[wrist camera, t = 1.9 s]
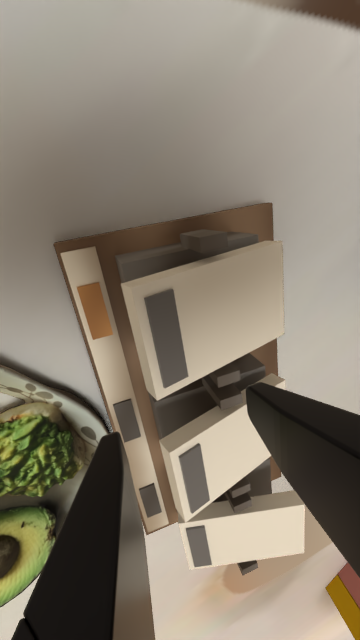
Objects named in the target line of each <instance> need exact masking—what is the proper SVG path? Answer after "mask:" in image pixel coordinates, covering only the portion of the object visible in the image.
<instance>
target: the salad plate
mask: <svg viewBox="0 0 360 640" xmlns="http://www.w3.org/2000/svg"><path fill="white" fill-rule="evenodd" d="M0 392H1V393H4V394H8V395H11V396H13V397H16V398H19V399H22V400H24V401H25V403H24V404H23V405H21V406H18V407H15V408H10V409H8V410H6V411H5V412H3V413H1V414H0V607H2V606H4V605H5V604H6V603H8V602H9V601H11V600H12V599H14V598H15V597H16V596H18V595H19V594H20V593H22V592H23V591H24V590H25V589H26V588H27V587H28V586H29V585H30V584H31V583H32V582H33V581H34V580H35V579H36V578H37V577H38V576H39V575H40V573H41V572H42V570H43V568H44V565H45V563H46V561H47V558H48V556H49V554H50V552H51V549H52V547H53V545H54V543H55V540H56V538H57V536H58V534H59V531H60V529H61V527H62V525H63V522H64V520H65V518H66V516H67V513H68V511H69V509H70V507H71V504H72V502H73V500H74V498H75V495H76V493H77V491H78V488H79V486H80V484H81V482H82V479H83V477H84V475H85V473H86V470H87V468H88V466H89V464H90V461H91V459H92V457H93V455H94V452H95V450H96V448H97V446H98V443H99V441H100V439H101V437H102V436H104V435H107V434H110V432H109V430H108V428H107V426H106V424H105V423H104V421H103V420H102V418H101V417H100V416H99V415H98V414H97V413H96V412H95V411H94V410H93V409H92V408H91V407H90V406H89V405H87V404H86V403H85V402H83V401H82V400H81V399H79V398H78V397H76V396H75V395H73V394H71V393H69V392H67V391H64V390H60V389H55V388H51V387H48V386H46V385H44V384H42V383H39V382H37V381H35V380H32V379H30V378H29V377H27V376H25V375H23V374H20V373H18V372H17V371H15V370H13V369H11V368H8V367H5V366H3V365H0Z"/></svg>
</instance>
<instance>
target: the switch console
mask: <svg viewBox="0 0 360 640" xmlns="http://www.w3.org/2000/svg"><path fill="white" fill-rule="evenodd" d="M263 241H274V240H273V209H272V203H262V204H257V205H252V206H246V207H241V208H236V209H230V210H225V211H220V212H214V213H209V214H204V215H199V216H193V217H188V218H183V219H177V220H172V221H167V222H161V223H156V224H151V225H145V226H140V227H135V228H130V229H124V230H119V231H114V232H108V233H103V234H98V235H92V236H87V237H82V238H76V239H71V240H66V241H61V242H55V243H54V247H55V250H56V254H57V257H58V260H59V263H60V266H61V269H62V272H63V275H64V279H65V282H66V285H67V288H68V291H69V294H70V297H71V300H72V304H73V307H74V310H75V313H76V316H77V319H78V322H79V325H80V329H81V332H82V335H83V338H84V341H85V344H86V347H87V350H88V354H89V357H90V360H91V363H92V366H93V369H94V372H95V375H96V379H97V382H98V385H99V388H100V391H101V394H102V397H103V400H104V404H105V407H106V410H107V413H108V416H109V419H110V422H111V425H112V429H113V432H116V431H118V432H119V433H120V435H121V438H122V441H123V444H124V448H125V451H126V454H127V457H128V461H129V465H130V470H131V474H132V479H133V484H134V488H135V493H136V497H137V502H138V506H139V511H140V516H141V519H142V522H143V526H144V529H145V532H146V535H148V534H151V533H153V532H155V531H157V530H160V529H162V528H164V527H167V526H169V525H171V524H174V523H176V522H178V511H177V509H176V508H175V503H174V499H173V495H172V491H171V487H170V483H169V479H168V475H167V471H166V467H165V463H164V459H163V454H162V450H161V446H160V442H159V440H161V439H162V438H164V437H166V436H167V435H169V434H171V433H172V432H174V431H176V430H177V429H179V428H181V427H182V426H184V425H186V424H187V423H189V422H191V421H192V420H194V419H196V418H197V417H199V416H201V415H202V414H204V413H206V412H208V411H209V410H211V409H213V408H214V407H216V406H219V408H220V409H221V410H224V409H227V408H230V407H233V406H235V405H238V404H241V403H243V402H242V393H241V391H243V390H244V389H246V387H247V386H249V385H252V384H254V383H256V382H258V381H259V380H261V379H263V378H264V377H266V376H268V375H269V374H271V373H273V374H275V375H277V376H278V363H277V338H276V339H274V340H272V341H270V342H268V343H266V344H264V345H263V346H261V347H259V348H257V349H255V350H253V351H251V352H249V353H247V354H245V355H244V356H242V357H240V358H238V359H236V360H234V361H232V362H230V363H228V364H226V365H225V366H223V367H221V368H219V369H217V370H215V371H213V372H211V373H209V374H207V375H205V376H204V377H202V378H200V379H198V380H196V381H194V382H192V383H190V384H188V385H186V386H185V387H183V388H181V389H179V390H177V391H175V392H173V393H171V394H169V395H167V396H166V397H164V398H162V399H160V400H158V401H157V400H156V399H155V398H154V397H153V396H152V395H151V394H150V393H149V392H148V391H147V389H146V385H145V381H144V377H143V373H142V369H141V365H140V360H139V356H138V352H137V348H136V344H135V340H134V336H133V332H132V328H131V324H130V320H129V316H128V311H127V307H126V303H125V299H124V295H123V291H122V287H121V284H122V283H125V282H128V281H132V280H135V279H138V278H142V277H145V276H148V275H152V274H155V273H159V272H162V271H165V270H169V269H172V268H175V267H179V266H182V265H185V264H189V263H192V262H196V261H199V260H202V259H206V258H209V257H212V256H216V255H219V254H222V253H226V252H229V251H233V250H236V249H239V248H243V247H246V246H249V245H253V244H256V243H259V242H263ZM279 477H281V471H280V469H279V467H278V466H277V464H276V463H275V461H274V459H273V458H272V456H270V457H269V458H268V459H266V460H265V461H264V462H263V463H261V464H260V465H259V466H257V467H256V468H255V469H254V470H252V471H251V472H250V473H249V474H247V475H246V476H245V477H243V478H242V479H241V480H240V481H238V482H237V483H236V484H234V485H233V486H232V487H231V488H229V489H228V490H227V491H226V492H224V493H223V494H222V495H220V496H219V497H218V498H217V499H215V500H214V501H213V502H212V503H215V502H222V501H229V503H230V505H231V507H232V509H233V511H234V513H238V512H240V511H242V510H244V509H246V508H249V507H251V506H252V500H251V498H250V497H254V496H261V495H267V494H272V488H271V481H272V480H275V479H277V478H279ZM237 564H238V566H239V568H240V570H241V573H242V575H245V574H247V573H249V572H251V571H252V570H254V569H256V568H258V565H257V561H256V560H253V561H246V562H240V563H237Z"/></svg>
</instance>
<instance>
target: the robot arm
mask: <svg viewBox="0 0 360 640" xmlns="http://www.w3.org/2000/svg"><path fill="white" fill-rule="evenodd" d="M246 402H247V412H248V416H249V418H250V420H251V422H252V424H253V426H254V427H255V429H256V431H257V432H258V434H259V436H260V437H261V439H262V441H263V442H264V444H265V446H266V447H267V449H268V451H269V453H270V454H271V456H272V458H273V459H274V461H275V463H276V464H277V466H278V467H279V469H280V471H281V472H282V474H283V475H284V476H285V478H286V479H287V481H288V482H289V483H290V485H291V486H292V488H293V489H294V490H295V492H296V493H297V494H298V496H299V497H300V498H301V500H302V501H303V502H304V504H305V505H306V506H307V508H308V509H309V510H310V512H311V513H312V515H313V516H314V517H315V519H316V520H317V521H318V523H319V524H320V525H321V527H322V528H323V529H324V531H325V532H326V533H327V535H328V536H329V538H330V539H331V540H332V542H333V543H334V544H335V546H336V547H337V548H338V550H339V551H340V552H341V554H342V555H343V556H344V558H345V559H346V560H347V562H348V563H349V565H350V566H351V567H352V569H353V570H354V571H355V573H356V574H357V575H358V577H359V578H360V415H358V414H355V413H352V412H349V411H346V410H343V409H340V408H337V407H334V406H331V405H328V404H325V403H322V402H319V401H316V400H313V399H310V398H307V397H304V396H301V395H299V394H296V393H293V392H290V391H287V390H284V389H281V388H278V387H275V386H272V385H269V384H266V383H263V382H257V383H254V384H252V385H249V386H247V387H246ZM23 615H24V617H25V618H22V619H21V620H20V621H19V623H18V626H17V628H16V630H15V632H14V635H13V637H12V639H11V640H155V633H154V624H153V614H152V604H151V595H150V585H149V576H148V566H147V556H146V547H145V538H144V531H143V526H142V520H141V516H140V511H139V506H138V502H137V497H136V493H135V488H134V484H133V479H132V474H131V470H130V465H129V461H128V457H127V454H126V451H125V448H124V444H123V441H122V438H121V435H120V433H119V432H118V431H116V432H113V433H110V434H107V435H104V436H102V437H101V439H100V441H99V443H98V446H97V448H96V450H95V452H94V455H93V457H92V459H91V461H90V464H89V466H88V468H87V470H86V473H85V475H84V477H83V479H82V482H81V484H80V486H79V488H78V491H77V493H76V495H75V498H74V500H73V502H72V504H71V507H70V509H69V511H68V513H67V516H66V518H65V520H64V522H63V525H62V527H61V529H60V531H59V534H58V536H57V538H56V540H55V543H54V545H53V547H52V549H51V552H50V554H49V556H48V558H47V561H46V563H45V565H44V568H43V570H42V572H41V574H40V577H39V579H38V581H37V583H36V586H35V588H34V590H33V592H32V595H31V597H30V599H29V601H28V604H27V606H26V608H25V610H24V613H23Z"/></svg>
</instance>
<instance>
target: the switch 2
mask: <svg viewBox="0 0 360 640" xmlns="http://www.w3.org/2000/svg"><path fill="white" fill-rule="evenodd" d="M250 498H251V500H252V506H251V507H249V508H246V509H244V510H242V511H240V512H238V513H234V511H233V509H232V507H231V505H230V503H229V501H222V502H215V503H210V504H209V505H208V506H206V507H205V508H204V509H203V510H201V511H200V512H199V513H197V514H196V515H195V516H194V517H192V518H191V519H190V520H189V521H187V522H186V523H185V521H184V520H183V518H182V517H181V515H180V514H179V512H178V524H179V529H180V533H181V537H182V541H183V545H184V549H185V553H186V557H187V561H188V565H189V569H190V570H193V569H200V568H206V567H213V566H220V565H226V564H233V563H240V562H246V561H253V560H260V559H266V558H273V557H279V556H286V555H293V554H300V553H304V518H305V504H304V502H303V501H302V500H301V498H300V497H299V496H298V494H297V493H296V492H295V490H293V491H287V492H280V493H274V494H267V495H261V496H254V497H250Z"/></svg>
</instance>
